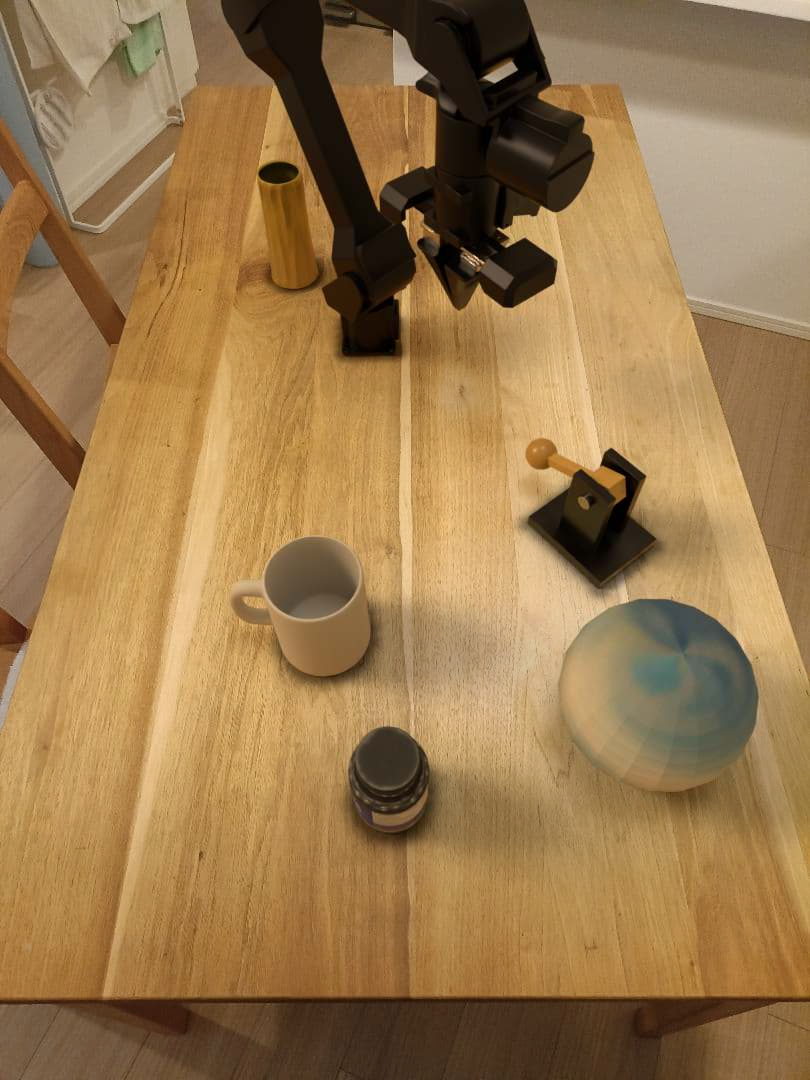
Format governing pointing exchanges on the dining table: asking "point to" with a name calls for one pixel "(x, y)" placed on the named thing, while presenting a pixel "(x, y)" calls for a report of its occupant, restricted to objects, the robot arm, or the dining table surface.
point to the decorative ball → (658, 695)
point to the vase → (287, 224)
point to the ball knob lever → (573, 467)
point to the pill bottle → (389, 779)
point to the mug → (311, 604)
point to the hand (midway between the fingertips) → (460, 307)
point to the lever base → (596, 523)
